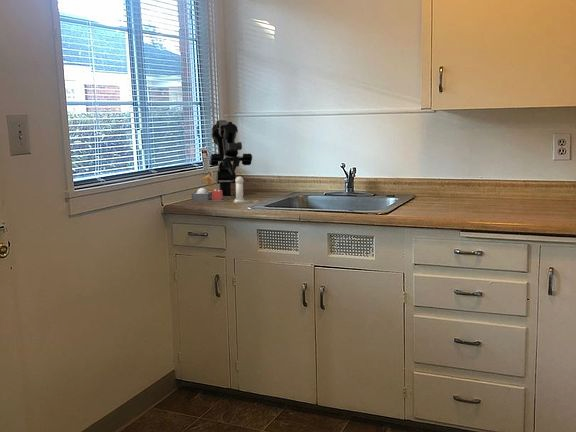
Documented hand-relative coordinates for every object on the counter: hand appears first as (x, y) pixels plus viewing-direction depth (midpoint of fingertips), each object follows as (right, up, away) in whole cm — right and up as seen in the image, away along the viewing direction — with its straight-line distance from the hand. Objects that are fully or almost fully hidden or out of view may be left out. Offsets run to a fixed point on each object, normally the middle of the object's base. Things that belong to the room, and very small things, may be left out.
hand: (233, 174), depth 287 cm
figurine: (-12, -11, +14) cm, 21 cm away
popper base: (-11, -13, +3) cm, 17 cm away
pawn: (+3, -13, -5) cm, 14 cm away
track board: (+8, -14, -2) cm, 16 cm away
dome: (-14, -11, +3) cm, 18 cm away
